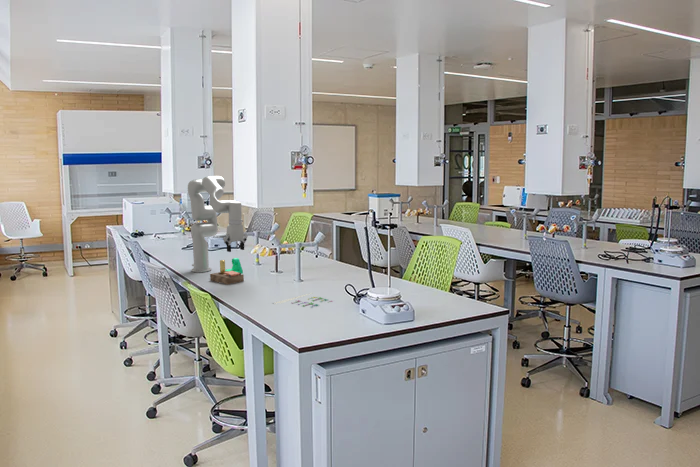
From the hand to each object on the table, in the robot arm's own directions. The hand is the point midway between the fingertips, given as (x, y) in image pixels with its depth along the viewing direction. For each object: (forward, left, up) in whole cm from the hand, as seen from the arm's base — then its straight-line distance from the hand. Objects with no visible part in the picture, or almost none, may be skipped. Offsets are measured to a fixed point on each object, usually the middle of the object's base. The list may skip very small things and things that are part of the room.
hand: (235, 250), depth 341 cm
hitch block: (-3, -5, -18) cm, 19 cm away
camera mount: (-17, +10, -19) cm, 27 cm away
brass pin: (-7, -5, -18) cm, 20 cm away
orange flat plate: (+2, -5, -14) cm, 14 cm away
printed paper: (+74, -7, -19) cm, 76 cm away
